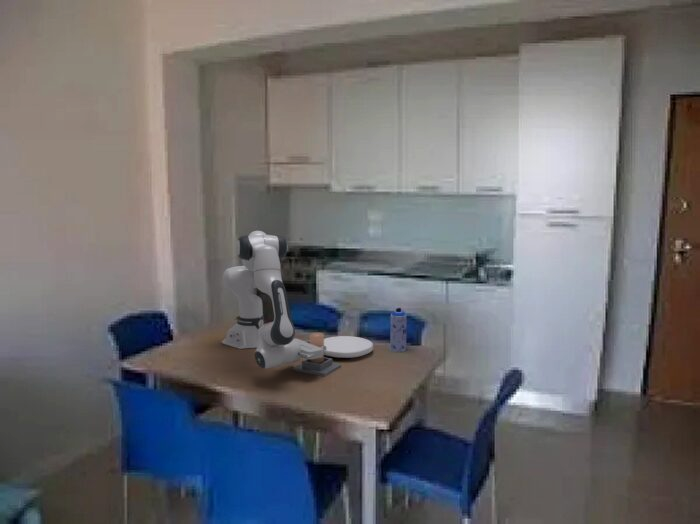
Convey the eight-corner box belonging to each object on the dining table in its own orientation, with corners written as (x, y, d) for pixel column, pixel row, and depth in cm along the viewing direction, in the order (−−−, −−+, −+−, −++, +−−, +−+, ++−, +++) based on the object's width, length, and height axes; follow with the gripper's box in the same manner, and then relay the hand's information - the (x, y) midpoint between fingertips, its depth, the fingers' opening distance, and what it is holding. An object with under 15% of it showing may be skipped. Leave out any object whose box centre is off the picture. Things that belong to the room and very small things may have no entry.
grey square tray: (293, 369, 254) (293, 361, 253) (310, 361, 265) (310, 353, 264) (325, 376, 246) (324, 367, 245) (341, 367, 257) (340, 358, 256)
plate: (324, 332, 293) (377, 336, 288) (324, 345, 293) (377, 349, 288) (309, 343, 265) (367, 347, 260) (308, 358, 266) (367, 362, 261)
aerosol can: (403, 352, 276) (403, 310, 273) (387, 350, 279) (387, 309, 276) (408, 347, 283) (409, 307, 280) (393, 346, 286) (393, 305, 283)
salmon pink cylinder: (307, 366, 254) (306, 335, 252) (315, 362, 259) (314, 331, 257) (319, 369, 251) (318, 337, 249) (326, 365, 256) (326, 333, 254)
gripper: (306, 350, 237) (333, 343, 246) (278, 338, 252) (304, 332, 261) (306, 365, 238) (333, 358, 247) (278, 353, 253) (304, 346, 262)
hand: (318, 344), depth 254 cm, fingers open, 8 cm apart
